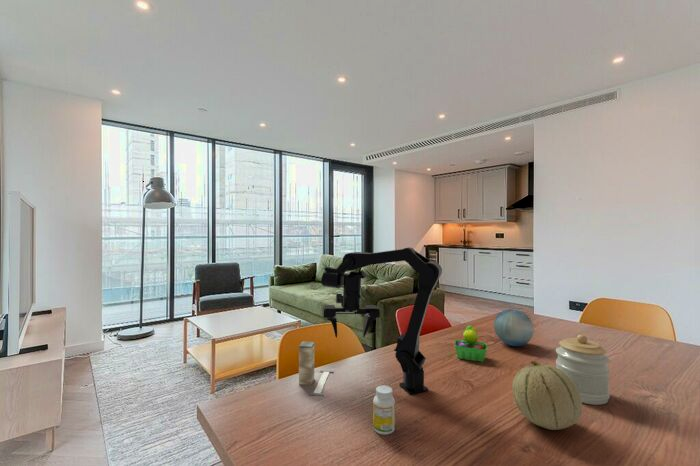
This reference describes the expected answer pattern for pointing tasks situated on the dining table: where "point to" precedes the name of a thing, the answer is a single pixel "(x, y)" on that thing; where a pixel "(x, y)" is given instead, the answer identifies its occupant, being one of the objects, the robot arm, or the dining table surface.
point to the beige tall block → (306, 363)
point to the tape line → (321, 383)
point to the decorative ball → (513, 327)
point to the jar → (585, 368)
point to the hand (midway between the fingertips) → (349, 336)
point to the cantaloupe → (547, 396)
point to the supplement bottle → (384, 410)
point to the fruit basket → (470, 346)
